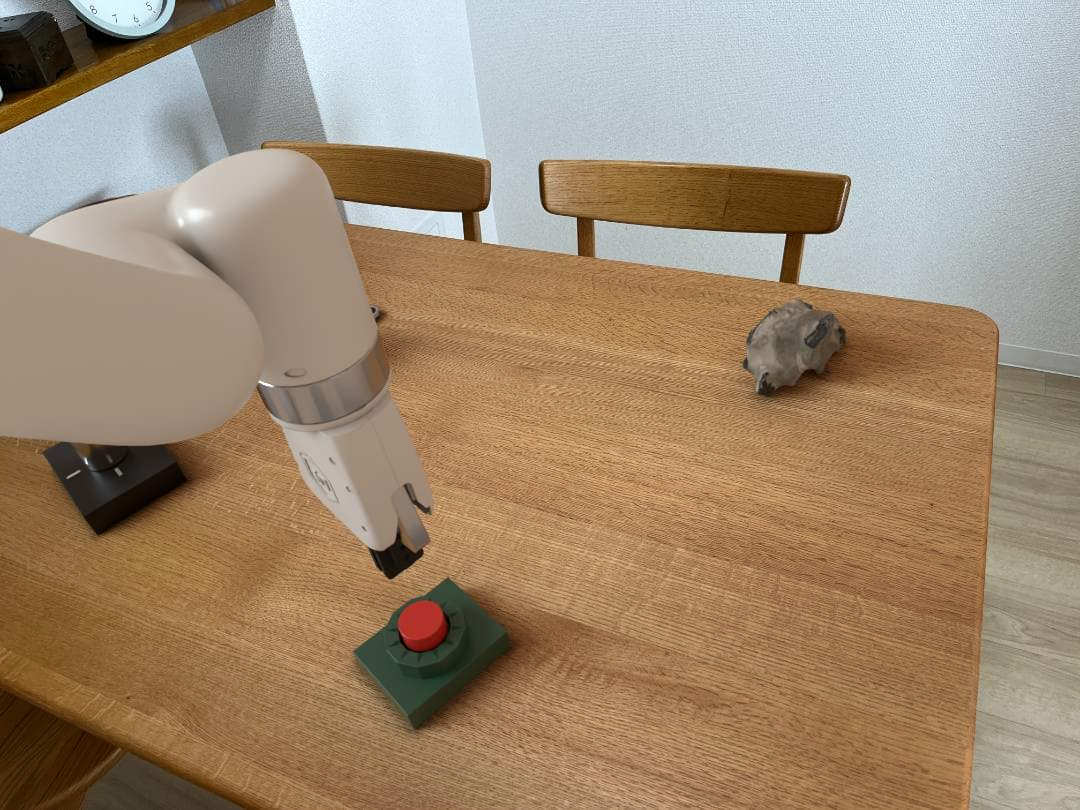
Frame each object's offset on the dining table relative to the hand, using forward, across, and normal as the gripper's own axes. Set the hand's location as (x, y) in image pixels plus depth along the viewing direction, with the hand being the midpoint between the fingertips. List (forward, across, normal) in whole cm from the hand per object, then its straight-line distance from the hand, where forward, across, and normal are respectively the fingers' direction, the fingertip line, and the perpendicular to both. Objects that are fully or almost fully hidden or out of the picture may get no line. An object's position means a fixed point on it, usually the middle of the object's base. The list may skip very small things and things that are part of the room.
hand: (401, 561), depth 59 cm
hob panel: (+12, -44, -11) cm, 47 cm away
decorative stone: (+13, +1, +49) cm, 50 cm away
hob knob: (+9, -44, -11) cm, 46 cm away
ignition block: (+12, 0, 0) cm, 13 cm away
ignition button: (+9, 0, 0) cm, 9 cm away
